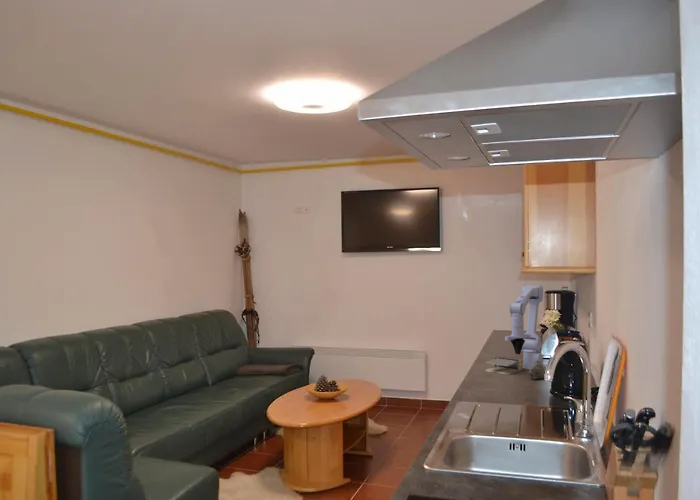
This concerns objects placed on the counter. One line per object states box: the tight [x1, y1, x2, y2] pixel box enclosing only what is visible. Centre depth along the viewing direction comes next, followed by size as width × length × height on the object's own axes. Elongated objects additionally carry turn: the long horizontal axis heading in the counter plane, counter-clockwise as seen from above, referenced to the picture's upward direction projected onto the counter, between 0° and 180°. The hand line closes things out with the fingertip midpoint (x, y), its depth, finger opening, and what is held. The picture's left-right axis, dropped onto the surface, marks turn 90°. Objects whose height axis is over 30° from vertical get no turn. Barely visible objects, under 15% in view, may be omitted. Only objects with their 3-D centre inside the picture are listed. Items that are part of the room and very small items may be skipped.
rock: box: [528, 360, 546, 380], centre depth 263 cm, size 11×6×10 cm
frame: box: [483, 355, 524, 376], centre depth 280 cm, size 16×12×6 cm
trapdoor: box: [485, 355, 523, 369], centre depth 282 cm, size 12×18×4 cm
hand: (517, 353), depth 271 cm, fingers closed
